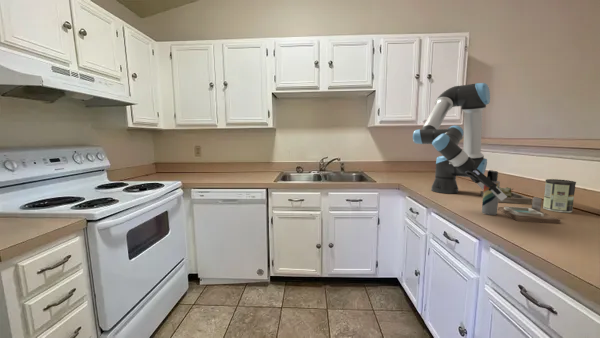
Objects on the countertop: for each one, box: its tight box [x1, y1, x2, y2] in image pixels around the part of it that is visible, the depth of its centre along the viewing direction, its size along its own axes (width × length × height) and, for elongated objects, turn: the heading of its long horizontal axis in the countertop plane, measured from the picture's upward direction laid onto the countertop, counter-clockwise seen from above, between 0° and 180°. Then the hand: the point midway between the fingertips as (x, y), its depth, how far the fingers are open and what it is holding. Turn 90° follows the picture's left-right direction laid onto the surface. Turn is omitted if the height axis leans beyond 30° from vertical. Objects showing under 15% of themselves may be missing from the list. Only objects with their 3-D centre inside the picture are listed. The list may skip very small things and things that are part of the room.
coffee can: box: [542, 178, 577, 214], centre depth 124 cm, size 10×10×14 cm
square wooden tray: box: [480, 190, 533, 205], centre depth 145 cm, size 17×17×2 cm
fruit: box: [499, 186, 514, 198], centre depth 147 cm, size 9×9×8 cm
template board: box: [497, 197, 561, 224], centre depth 115 cm, size 16×15×8 cm
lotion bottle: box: [481, 169, 500, 216], centre depth 118 cm, size 6×6×20 cm
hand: (496, 195), depth 118 cm, fingers open, 13 cm apart
